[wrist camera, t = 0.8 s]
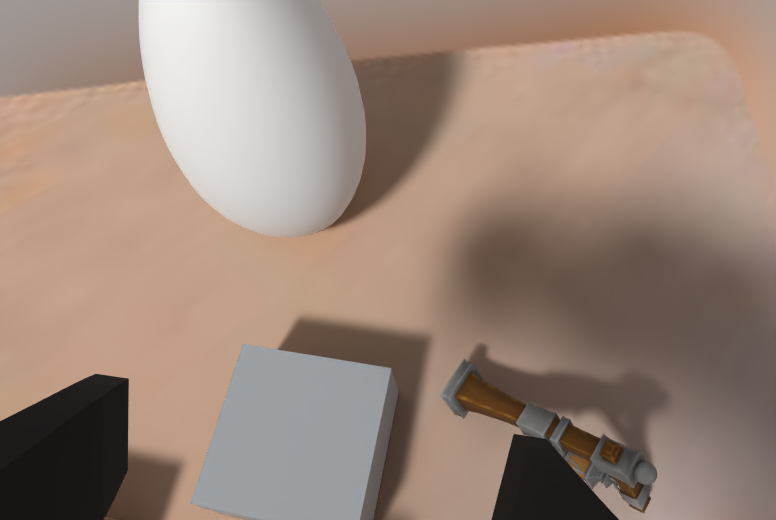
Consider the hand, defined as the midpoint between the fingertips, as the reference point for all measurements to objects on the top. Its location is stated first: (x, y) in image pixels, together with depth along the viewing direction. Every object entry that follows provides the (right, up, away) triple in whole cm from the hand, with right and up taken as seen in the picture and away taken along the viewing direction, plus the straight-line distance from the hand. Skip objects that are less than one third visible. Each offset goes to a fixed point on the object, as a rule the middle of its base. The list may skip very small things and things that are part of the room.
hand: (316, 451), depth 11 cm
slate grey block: (-2, -4, +14) cm, 14 cm away
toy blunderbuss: (+7, -4, +13) cm, 16 cm away
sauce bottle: (-3, +6, +19) cm, 21 cm away
